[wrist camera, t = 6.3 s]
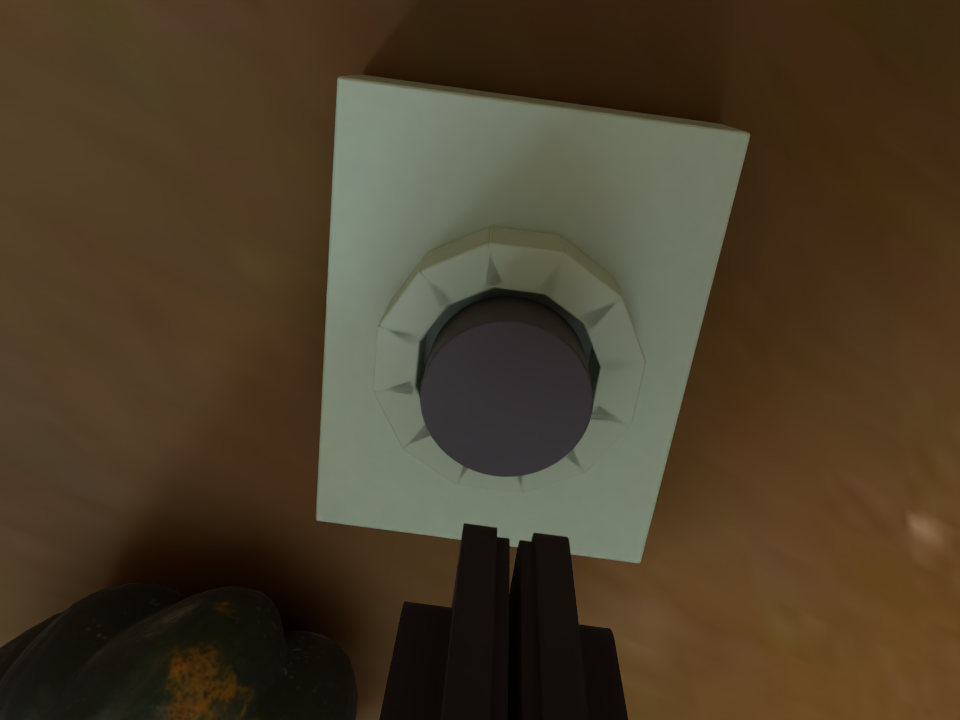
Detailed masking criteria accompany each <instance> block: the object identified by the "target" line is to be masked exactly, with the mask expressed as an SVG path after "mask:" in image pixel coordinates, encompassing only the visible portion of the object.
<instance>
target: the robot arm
mask: <svg viewBox="0 0 960 720" xmlns="http://www.w3.org/2000/svg"><path fill="white" fill-rule="evenodd" d="M509 549H510V540H509V538H502V537H497V527H489V526H482V525H474V524H466V523H464V524H463V531H462V538H461V545H460V552H459V559H458V566H457V573H456V580H455V587H454V594H453V601H452V608H449V607H441V606H434V605H426V604H419V603H411V602H404V604H403V608H402V612H401V617H400V622H399V627H398V632H397V637H396V641H395V646H394V651H393V656H392V661H391V666H390V671H389V676H388V680H387V685H386V690H385V695H384V700H383V705H382V710H381V715H380V720H628V716H627V710H626V704H625V699H624V693H623V687H622V681H621V675H620V670H619V664H618V658H617V652H616V646H615V640H614V637H613V633H612V631H611V630H610V629H608V628H601V627H593V626H586V625H579V624H578V615H577V606H576V597H575V588H574V579H573V571H572V562H571V553H570V544H569V538H568V537H564V536H557V535H549V534H542V533H533V536H532V540H531V541H524V540H520V541H519V544H518V549H517V554H516V560H515V566H514V571H513V577H512V583H511V588H510V594H509Z"/></svg>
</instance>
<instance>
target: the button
mask: <svg viewBox="0 0 960 720" xmlns="http://www.w3.org/2000/svg"><path fill="white" fill-rule="evenodd" d="M420 405H421V412H422V416H423V420H424V422H425V425H426V427H427V430H428V431H429V433H430V435H431V437H432V438H433V440H434V441H435V442H436V444H437V445H438V446H439V447H440V448H441V449H442V450H443V451H444V452H445V453H446V454H447V455H448V456H449V457H451V458H452V459H453V460H454V461H456V462H458V463H459V464H461V465H463V466H464V467H466V468H469V469H471V470H473V471H476V472H479V473H482V474H487V475H492V476H501V477H515V476H523V475H528V474H532V473H535V472H539V471H541V470H543V469H546V468H548V467H550V466H552V465H554V464H555V463H557V462H558V461H560V460H561V459H563V458H564V457H565V456H566V455H567V454H568V453H570V452H571V451H572V450H573V449H574V447H575V446H576V445H577V444H578V443H579V441H580V440H581V438H582V437H583V435H584V433H585V431H586V429H587V427H588V425H589V422H590V419H591V415H592V410H593V388H592V382H591V377H590V373H589V369H588V365H587V361H586V357H585V353H584V349H583V346H582V344H581V341H580V339H579V337H578V335H577V334H576V332H575V331H574V329H573V328H572V326H571V325H570V324H569V323H568V322H567V321H566V320H565V319H564V318H563V317H562V316H561V315H560V314H559V313H557V312H556V311H554V310H553V309H551V308H550V307H548V306H546V305H544V304H542V303H540V302H537V301H534V300H531V299H527V298H522V297H515V296H498V297H492V298H486V299H483V300H480V301H477V302H474V303H472V304H470V305H468V306H466V307H465V308H463V309H461V310H460V311H458V312H457V313H456V314H455V315H453V316H452V317H451V318H450V319H449V320H448V321H447V322H446V323H445V324H444V325H443V327H442V328H441V330H440V331H439V333H438V334H437V336H436V338H435V340H434V342H433V345H432V348H431V351H430V354H429V358H428V361H427V365H426V368H425V372H424V375H423V379H422V383H421V389H420Z"/></svg>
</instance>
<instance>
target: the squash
mask: <svg viewBox="0 0 960 720" xmlns="http://www.w3.org/2000/svg"><path fill="white" fill-rule="evenodd" d="M356 712H357V690H356V683H355V677H354V672H353V669H352V666H351V663H350V660H349V658H348V656H347V655H346V654H345V652H344V651H343V650H342V648H341V647H340V646H338V645H337V644H336V643H335V642H333V641H332V640H331V639H329V638H327V637H325V636H323V635H321V634H317V633H313V632H309V631H302V630H291V631H283V626H282V621H281V618H280V615H279V612H278V610H277V608H276V606H275V605H274V603H273V601H272V600H271V599H269V598H268V597H267V596H266V595H265V594H264V593H262V592H261V591H259V590H254V589H249V588H244V587H240V586H236V585H229V586H225V587H220V588H216V589H211V590H207V591H205V592H202V593H199V594H195V595H191V596H189V597H187V598H186V597H185V596H183V595H182V594H181V593H180V592H179V591H177V590H174V589H171V588H168V587H165V586H162V585H160V584H157V583H139V582H133V583H127V584H121V585H118V586H114V587H110V588H107V589H103V590H101V591H98V592H96V593H93V594H91V595H89V596H87V597H85V598H84V599H82V600H80V601H78V602H76V603H75V604H73V605H72V606H71V607H69V608H68V609H67V610H66V611H64V612H61V613H59V614H56V615H54V616H52V617H50V618H49V619H47V620H45V621H43V622H41V623H40V624H38V625H36V626H34V627H32V628H31V629H29V630H27V631H25V632H24V633H22V634H21V635H19V636H18V637H16V638H15V639H13V640H12V641H10V642H8V643H7V644H5V645H4V646H2V647H1V648H0V720H356Z"/></svg>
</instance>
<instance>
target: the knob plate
mask: <svg viewBox="0 0 960 720" xmlns="http://www.w3.org/2000/svg"><path fill="white" fill-rule="evenodd" d="M749 139H750V133H748V132H746V131H742V130H739V129H736V128H733V127H729V126H726V125H723V124H719V123H712V122H705V121H697V120H690V119H683V118H676V117H668V116H661V115H654V114H646V113H639V112H632V111H624V110H617V109H610V108H603V107H595V106H588V105H581V104H573V103H566V102H559V101H552V100H544V99H537V98H530V97H522V96H515V95H508V94H500V93H493V92H486V91H479V90H471V89H464V88H457V87H449V86H442V85H435V84H428V83H420V82H413V81H406V80H398V79H391V78H384V77H376V76H369V75H362V74H361V75H351V76H341V77H338V79H337V98H336V118H335V138H334V159H333V179H332V199H331V219H330V240H329V260H328V280H327V300H326V321H325V341H324V361H323V381H322V402H321V422H320V442H319V463H318V483H317V503H316V520H317V521H323V522H330V523H338V524H346V525H353V526H361V527H368V528H376V529H383V530H391V531H399V532H406V533H414V534H421V535H429V536H436V537H444V538H451V539H459V540H461V538H462V531H463V524H464V523H466V524H474V525H482V526H489V527H497V537H502V538H509V540H510V546H512V547H518V544H519V541H520V540H524V541H531V540H532V536H533V533H542V534H549V535H557V536H564V537H568V538H569V544H570V553H571V554H572V555H580V556H587V557H595V558H603V559H610V560H618V561H625V562H633V563H640V562H641V559H642V555H643V551H644V547H645V543H646V539H647V535H648V532H649V528H650V524H651V520H652V516H653V512H654V508H655V504H656V500H657V497H658V493H659V489H660V485H661V481H662V477H663V473H664V469H665V465H666V462H667V458H668V454H669V450H670V446H671V442H672V438H673V434H674V430H675V427H676V423H677V419H678V415H679V411H680V407H681V403H682V399H683V395H684V392H685V388H686V384H687V380H688V376H689V372H690V368H691V364H692V360H693V357H694V353H695V349H696V345H697V341H698V337H699V333H700V329H701V325H702V322H703V318H704V314H705V310H706V306H707V302H708V298H709V294H710V290H711V287H712V283H713V279H714V275H715V271H716V267H717V263H718V259H719V255H720V252H721V248H722V244H723V240H724V236H725V232H726V228H727V224H728V220H729V217H730V213H731V209H732V205H733V201H734V197H735V193H736V189H737V186H738V182H739V178H740V174H741V170H742V166H743V162H744V158H745V154H746V151H747V147H748V143H749ZM498 296H515V297H522V298H527V299H531V300H534V301H537V302H540V303H542V304H544V305H546V306H548V307H550V308H551V309H553V310H554V311H556V312H557V313H559V314H560V315H561V316H562V317H563V318H564V319H565V320H566V321H567V322H568V323H569V324H570V325H571V326H572V328H573V329H574V331H575V332H576V334H577V335H578V337H579V339H580V341H581V344H582V346H583V349H584V353H585V357H586V361H587V365H588V369H589V373H590V377H591V382H592V388H593V410H592V415H591V419H590V422H589V425H588V427H587V429H586V431H585V433H584V435H583V437H582V438H581V440H580V441H579V443H578V444H577V445H576V446H575V447H574V449H573V450H572V451H571V452H570V453H568V454H567V455H566V456H565V457H564V458H563V459H561V460H560V461H558V462H557V463H555V464H554V465H552V466H550V467H548V468H546V469H543V470H541V471H539V472H535V473H532V474H528V475H523V476H515V477H501V476H492V475H487V474H482V473H479V472H476V471H473V470H471V469H469V468H466V467H464V466H463V465H461V464H459V463H458V462H456V461H454V460H453V459H452V458H451V457H449V456H448V455H447V454H446V453H445V452H444V451H443V450H442V449H441V448H440V447H439V446H438V445H437V444H436V442H435V441H434V440H433V438H432V437H431V435H430V433H429V431H428V430H427V427H426V425H425V422H424V420H423V416H422V412H421V405H420V389H421V383H422V379H423V375H424V372H425V368H426V365H427V361H428V358H429V354H430V351H431V348H432V345H433V342H434V340H435V338H436V336H437V334H438V333H439V331H440V330H441V328H442V327H443V325H444V324H445V323H446V322H447V321H448V320H449V319H450V318H451V317H452V316H453V315H455V314H456V313H457V312H458V311H460V310H461V309H463V308H465V307H466V306H468V305H470V304H472V303H474V302H477V301H480V300H483V299H486V298H492V297H498Z"/></svg>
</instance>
